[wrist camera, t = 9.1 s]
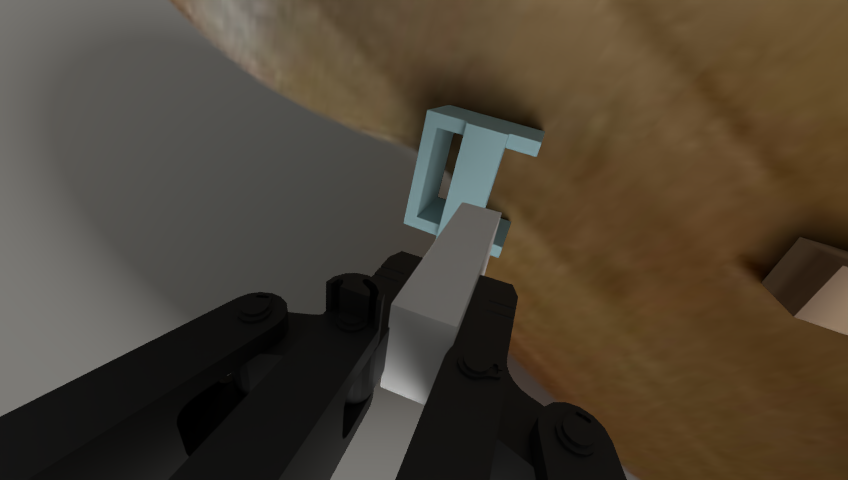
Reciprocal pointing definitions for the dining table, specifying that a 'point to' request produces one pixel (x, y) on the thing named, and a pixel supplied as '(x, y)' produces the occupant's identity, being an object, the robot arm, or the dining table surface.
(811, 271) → the batten
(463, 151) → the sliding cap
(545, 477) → the robot arm
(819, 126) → the dining table surface
